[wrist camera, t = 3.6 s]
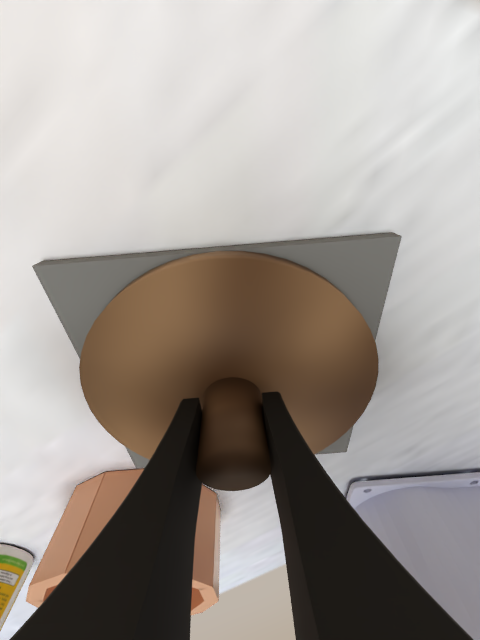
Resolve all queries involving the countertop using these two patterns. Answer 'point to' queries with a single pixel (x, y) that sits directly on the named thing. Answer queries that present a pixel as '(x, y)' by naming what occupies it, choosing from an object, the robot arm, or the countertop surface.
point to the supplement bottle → (12, 576)
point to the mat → (316, 254)
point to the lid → (228, 359)
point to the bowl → (94, 513)
